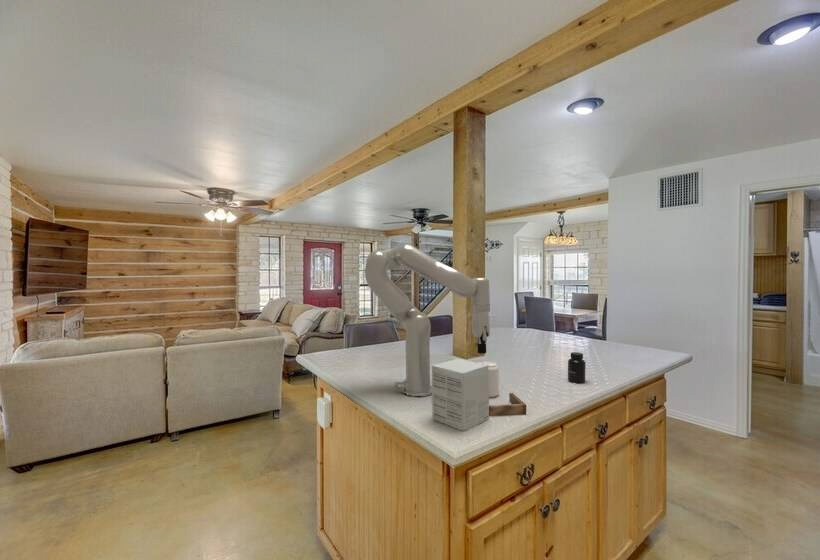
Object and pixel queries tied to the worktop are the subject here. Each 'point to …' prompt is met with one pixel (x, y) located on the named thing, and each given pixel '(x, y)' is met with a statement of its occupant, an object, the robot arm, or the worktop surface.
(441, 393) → the supplement box
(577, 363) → the supplement bottle
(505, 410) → the bay
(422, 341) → the robot arm
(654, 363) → the worktop surface
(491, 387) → the white lidded jar
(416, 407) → the worktop surface
